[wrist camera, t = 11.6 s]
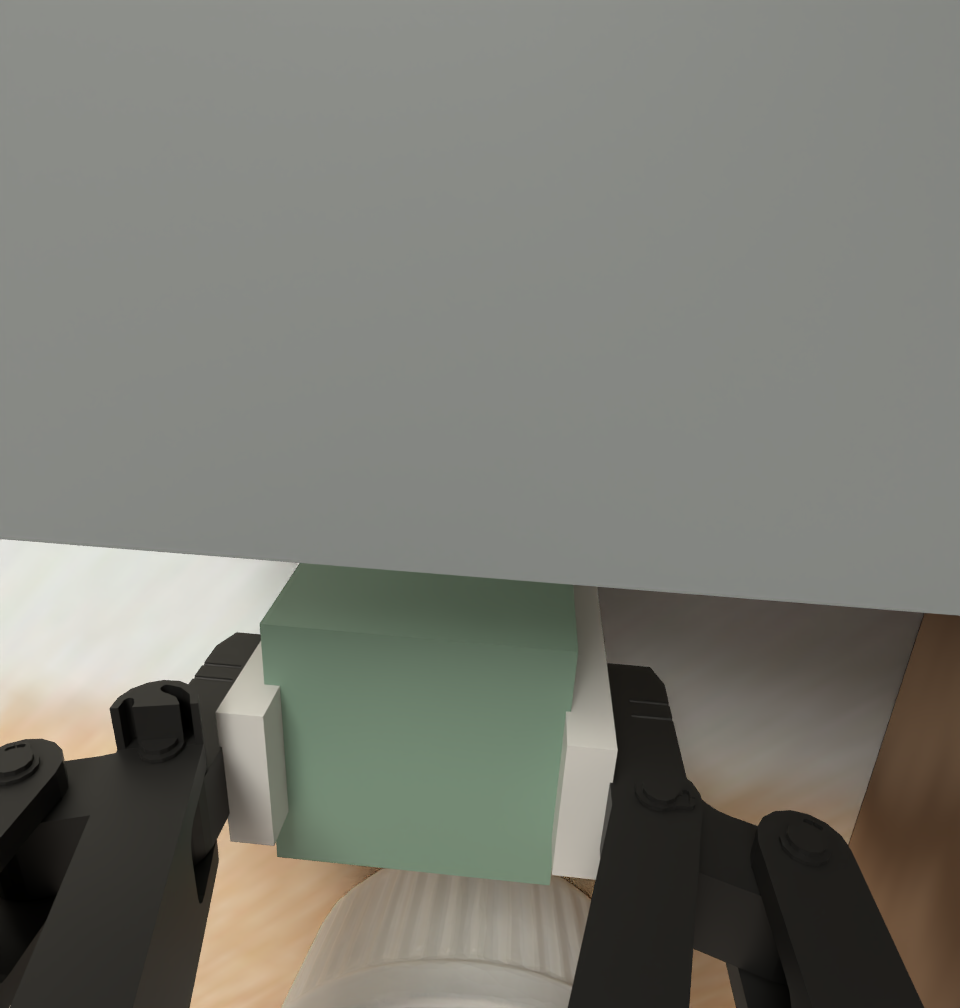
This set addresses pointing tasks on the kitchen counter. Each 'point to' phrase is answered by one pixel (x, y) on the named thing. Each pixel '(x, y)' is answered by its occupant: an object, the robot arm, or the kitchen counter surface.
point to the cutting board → (920, 816)
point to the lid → (490, 289)
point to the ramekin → (445, 944)
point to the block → (421, 718)
